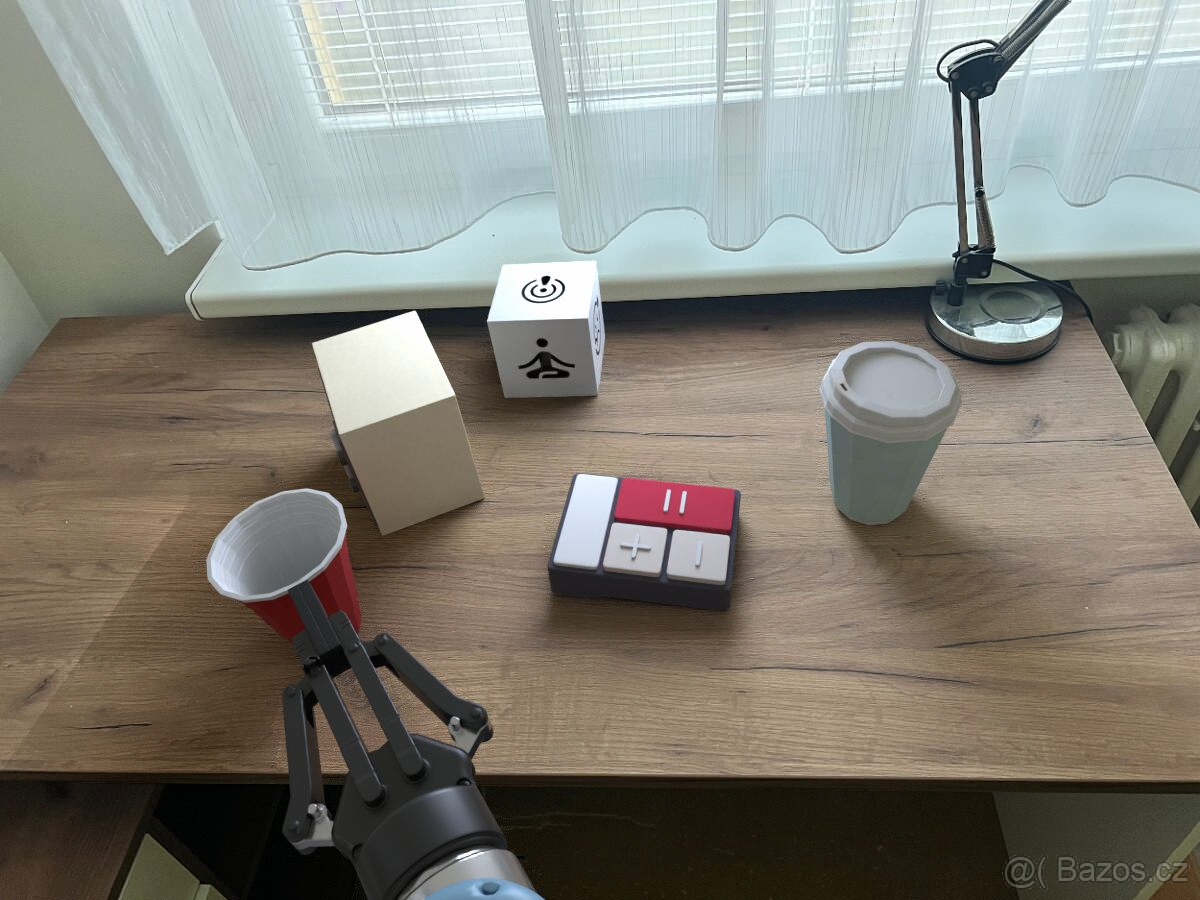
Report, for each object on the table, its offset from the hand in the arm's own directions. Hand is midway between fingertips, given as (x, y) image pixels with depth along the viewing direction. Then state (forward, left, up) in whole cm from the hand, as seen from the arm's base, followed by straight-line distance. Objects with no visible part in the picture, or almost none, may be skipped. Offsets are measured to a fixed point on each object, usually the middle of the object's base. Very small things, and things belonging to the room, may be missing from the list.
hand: (304, 596), depth 61 cm
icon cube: (+28, +30, -12) cm, 43 cm away
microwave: (+10, +22, -12) cm, 27 cm away
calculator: (+26, +2, -12) cm, 29 cm away
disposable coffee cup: (+46, -2, -12) cm, 48 cm away
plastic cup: (-1, +7, -12) cm, 14 cm away
